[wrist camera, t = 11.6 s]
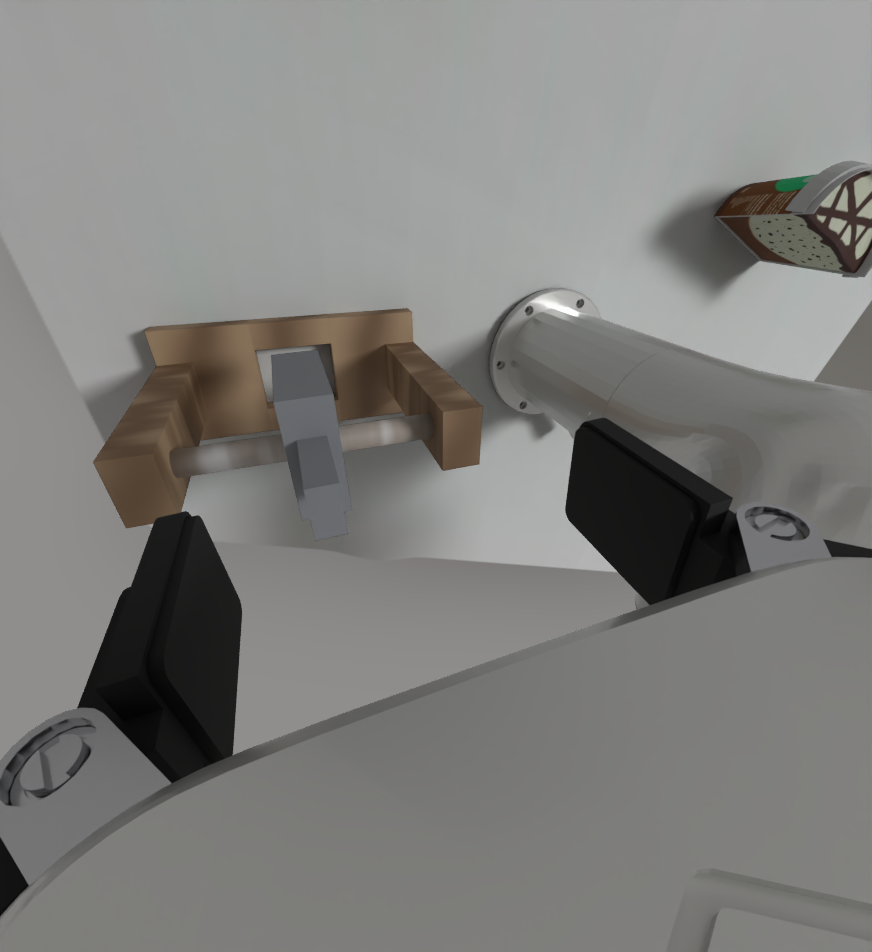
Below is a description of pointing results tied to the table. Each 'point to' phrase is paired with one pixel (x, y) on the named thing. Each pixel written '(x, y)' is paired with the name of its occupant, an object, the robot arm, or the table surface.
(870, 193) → the food container
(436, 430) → the rack
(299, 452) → the stepped gray bar
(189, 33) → the table surface
